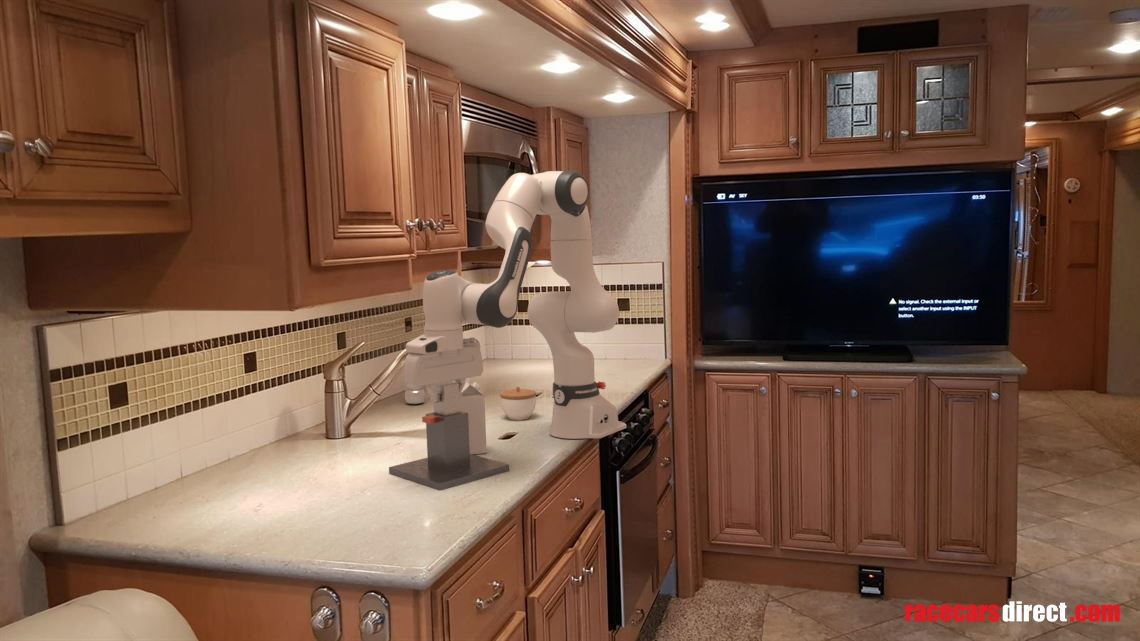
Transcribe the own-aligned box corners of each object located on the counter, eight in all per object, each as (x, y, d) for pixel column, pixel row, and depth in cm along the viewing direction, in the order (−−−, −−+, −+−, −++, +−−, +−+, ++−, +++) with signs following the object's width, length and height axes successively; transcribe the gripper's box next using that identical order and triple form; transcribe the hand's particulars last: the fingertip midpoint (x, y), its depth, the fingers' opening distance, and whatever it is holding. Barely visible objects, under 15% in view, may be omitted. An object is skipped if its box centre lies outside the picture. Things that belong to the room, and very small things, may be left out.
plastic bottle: (419, 401, 290) (416, 341, 288) (429, 404, 285) (426, 343, 283) (401, 403, 286) (398, 343, 284) (411, 406, 281) (408, 345, 279)
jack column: (450, 456, 208) (447, 381, 206) (462, 459, 205) (459, 383, 203) (435, 459, 205) (432, 384, 203) (446, 463, 202) (443, 386, 200)
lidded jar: (544, 416, 262) (543, 385, 261) (521, 423, 254) (520, 391, 253) (516, 412, 269) (515, 382, 267) (493, 419, 260) (492, 388, 259)
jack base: (457, 456, 219) (455, 401, 217) (509, 470, 205) (507, 412, 203) (389, 473, 205) (386, 414, 204) (440, 490, 191) (437, 427, 189)
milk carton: (458, 456, 219) (455, 381, 217) (454, 449, 226) (451, 377, 224) (486, 453, 221) (484, 379, 219) (482, 447, 228) (479, 375, 225)
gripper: (471, 335, 211) (473, 391, 213) (399, 345, 197) (402, 405, 198) (487, 337, 207) (489, 395, 208) (415, 347, 192) (418, 409, 194)
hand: (446, 400), depth 203 cm, fingers open, 5 cm apart
